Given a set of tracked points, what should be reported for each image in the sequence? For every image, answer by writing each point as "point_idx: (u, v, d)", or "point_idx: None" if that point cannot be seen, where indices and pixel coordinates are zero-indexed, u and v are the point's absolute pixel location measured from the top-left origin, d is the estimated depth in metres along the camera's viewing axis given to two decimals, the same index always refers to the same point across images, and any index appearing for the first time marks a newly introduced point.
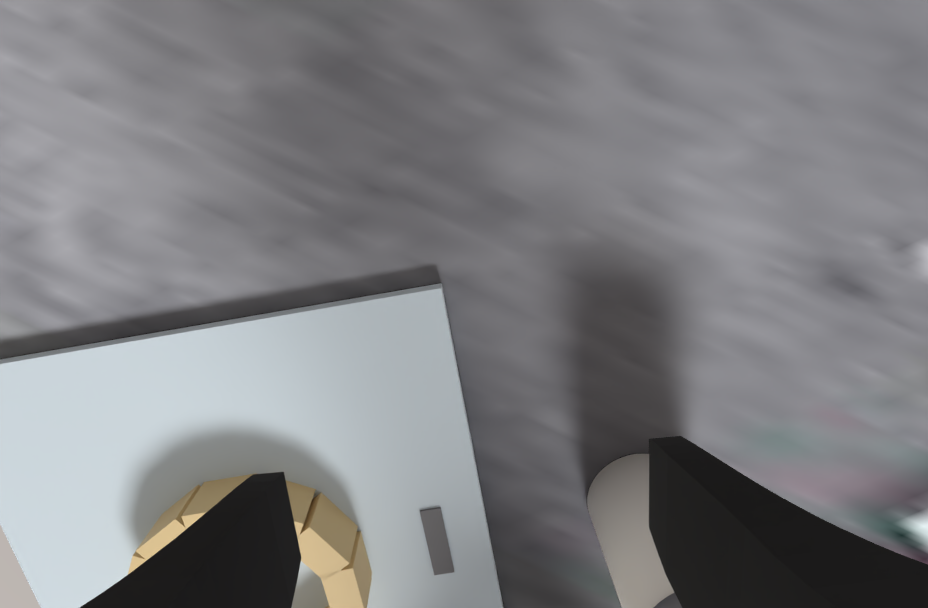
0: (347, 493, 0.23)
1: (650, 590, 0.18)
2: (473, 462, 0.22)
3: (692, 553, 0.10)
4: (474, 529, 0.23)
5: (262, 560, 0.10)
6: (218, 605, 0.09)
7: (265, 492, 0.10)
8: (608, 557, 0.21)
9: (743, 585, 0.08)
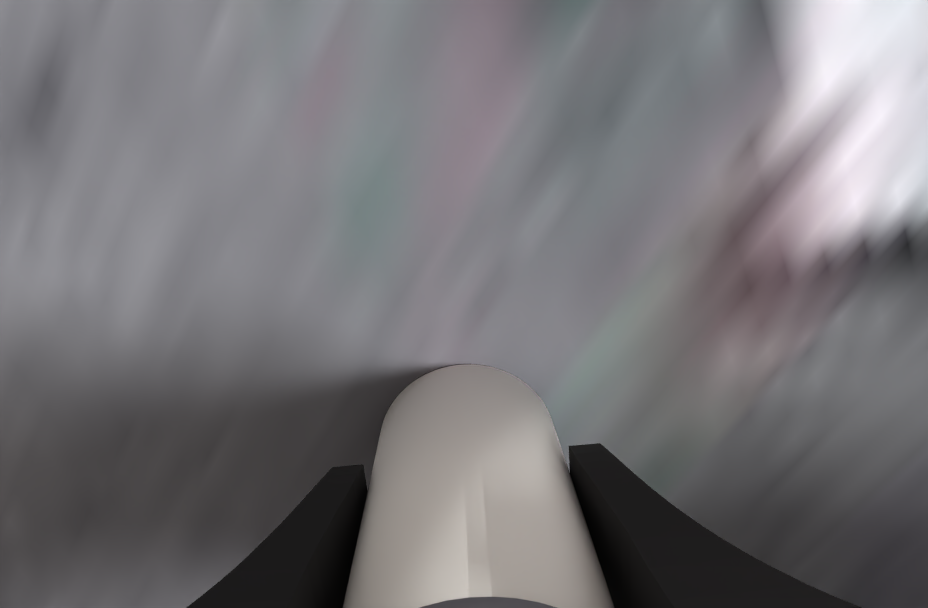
0: None
1: None
2: None
3: (599, 561, 0.10)
4: None
5: (352, 552, 0.10)
6: (323, 596, 0.09)
7: (352, 484, 0.10)
8: None
9: (631, 595, 0.08)
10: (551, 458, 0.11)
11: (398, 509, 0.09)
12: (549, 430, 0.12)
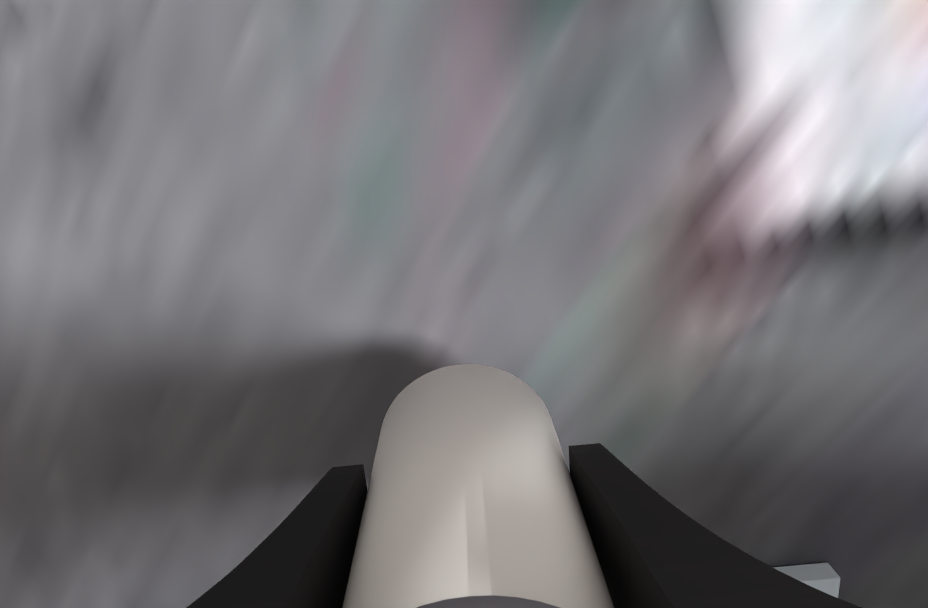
0: None
1: None
2: None
3: None
4: None
5: (352, 552, 0.10)
6: (324, 596, 0.09)
7: (352, 484, 0.10)
8: None
9: (631, 595, 0.08)
10: (551, 458, 0.11)
11: (399, 508, 0.09)
12: (549, 430, 0.12)
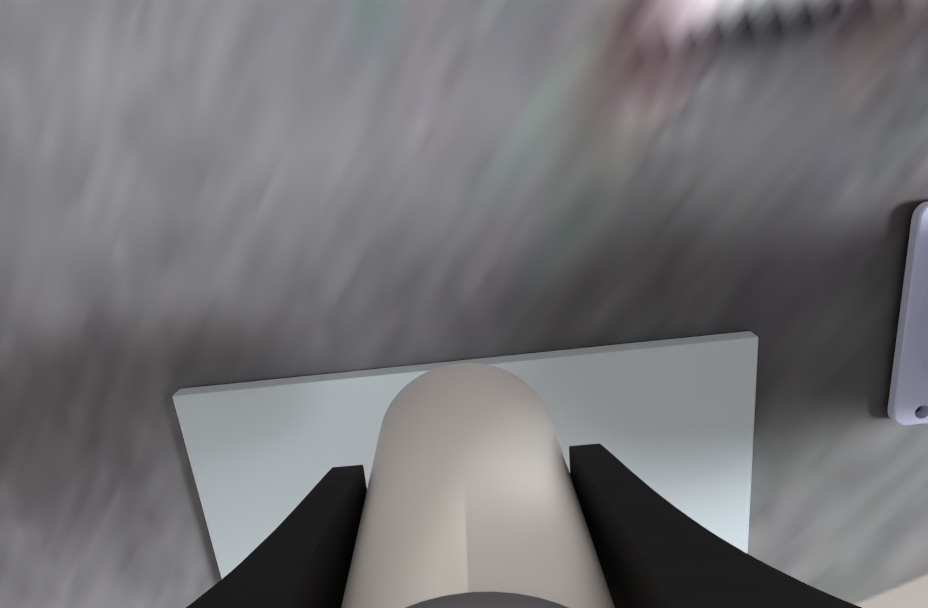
0: None
1: None
2: (371, 377, 0.21)
3: (599, 561, 0.10)
4: None
5: (351, 552, 0.10)
6: (323, 596, 0.09)
7: (352, 484, 0.10)
8: None
9: (631, 595, 0.08)
10: (550, 456, 0.11)
11: (398, 506, 0.09)
12: (548, 428, 0.12)
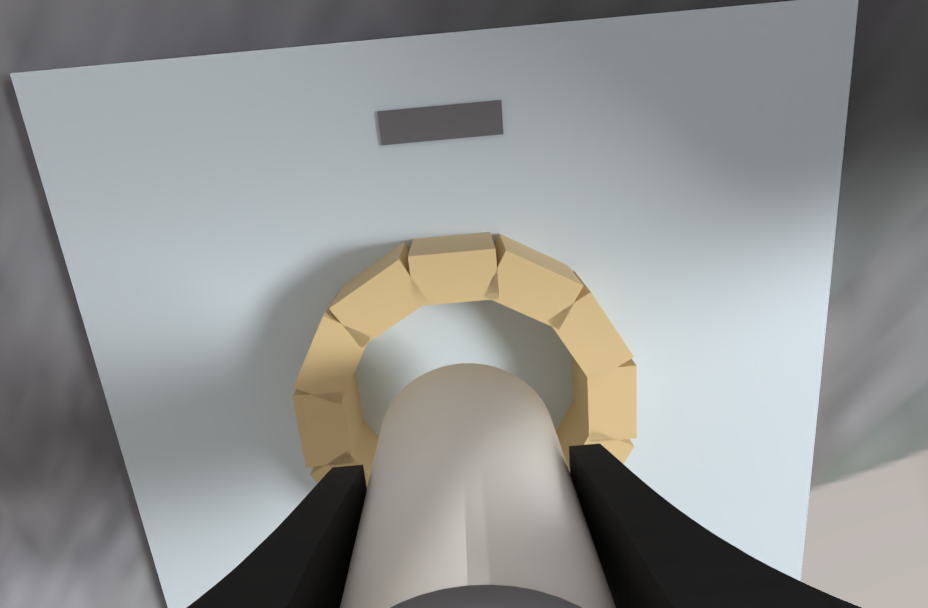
0: (347, 249, 0.16)
1: None
2: (297, 48, 0.14)
3: None
4: (424, 57, 0.14)
5: (352, 552, 0.10)
6: (323, 596, 0.09)
7: (352, 484, 0.10)
8: None
9: (631, 595, 0.08)
10: (550, 454, 0.11)
11: (398, 502, 0.09)
12: (548, 428, 0.12)
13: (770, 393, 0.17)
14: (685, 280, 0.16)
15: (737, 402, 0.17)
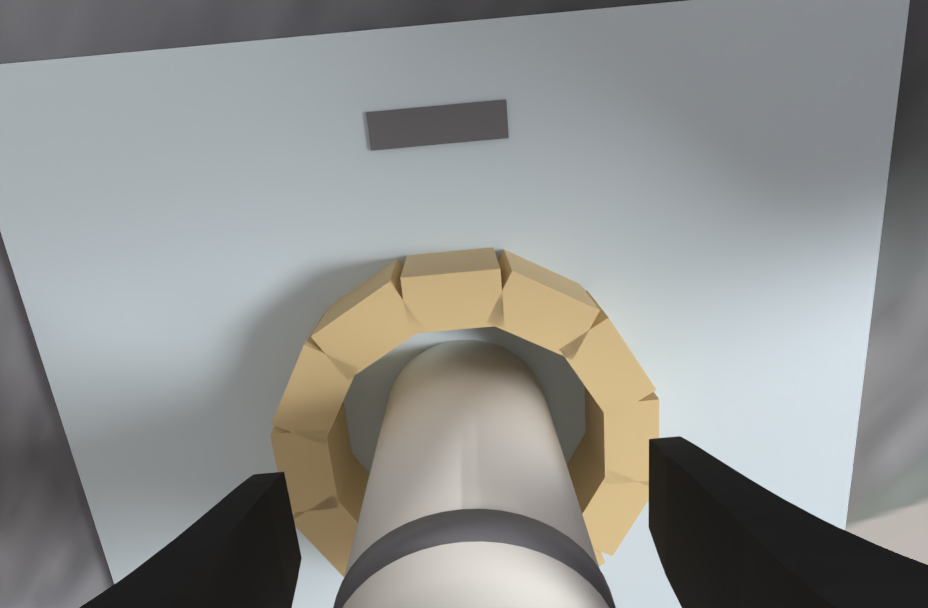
0: (333, 267, 0.14)
1: None
2: (274, 41, 0.12)
3: (691, 553, 0.10)
4: (418, 51, 0.13)
5: (262, 560, 0.10)
6: (218, 605, 0.09)
7: (265, 492, 0.10)
8: None
9: (742, 585, 0.08)
10: (539, 416, 0.12)
11: (404, 452, 0.10)
12: (539, 396, 0.13)
13: (803, 424, 0.16)
14: (711, 301, 0.14)
15: (767, 434, 0.16)
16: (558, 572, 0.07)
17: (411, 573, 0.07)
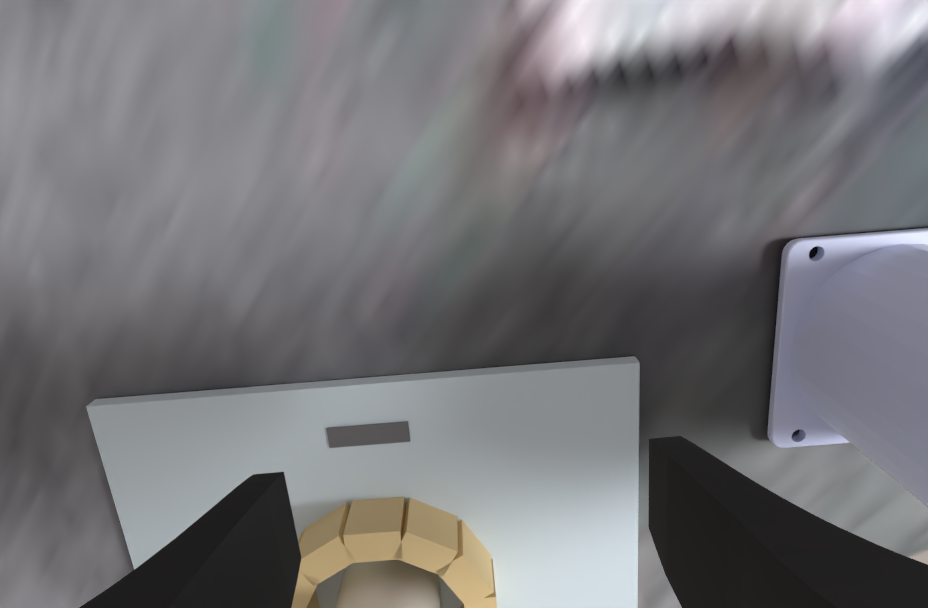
0: (307, 506, 0.23)
1: None
2: (273, 393, 0.22)
3: (691, 553, 0.10)
4: (356, 397, 0.22)
5: (262, 560, 0.10)
6: (218, 605, 0.09)
7: (265, 492, 0.10)
8: None
9: (743, 585, 0.08)
10: None
11: None
12: (428, 590, 0.23)
13: (603, 594, 0.25)
14: (538, 525, 0.24)
15: (580, 599, 0.25)
16: None
17: None
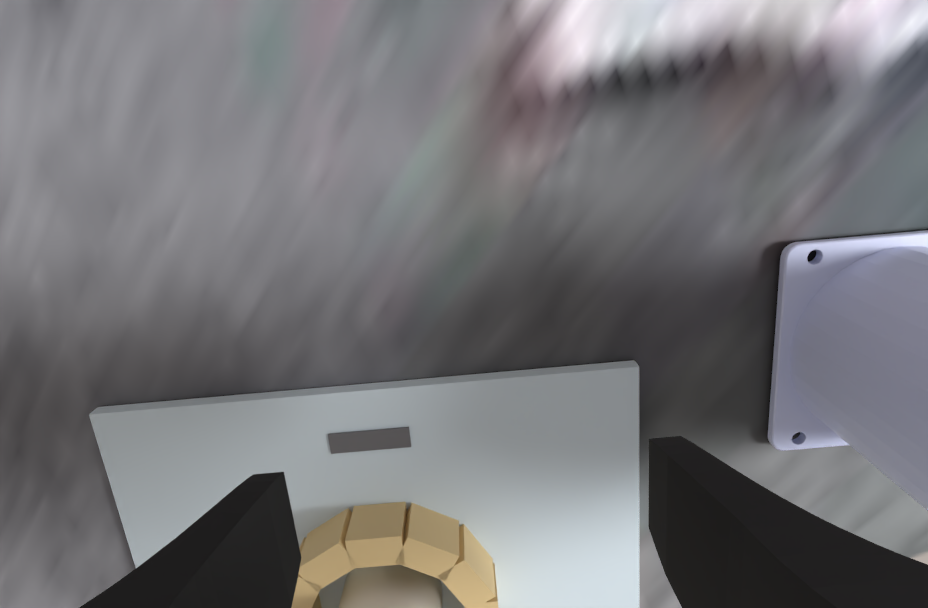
0: (309, 512, 0.23)
1: None
2: (274, 399, 0.22)
3: (692, 553, 0.10)
4: (357, 403, 0.22)
5: (262, 560, 0.10)
6: (218, 605, 0.09)
7: (265, 492, 0.10)
8: None
9: (743, 585, 0.08)
10: None
11: None
12: (430, 597, 0.23)
13: (605, 597, 0.25)
14: (539, 529, 0.24)
15: (582, 603, 0.25)
16: None
17: None
